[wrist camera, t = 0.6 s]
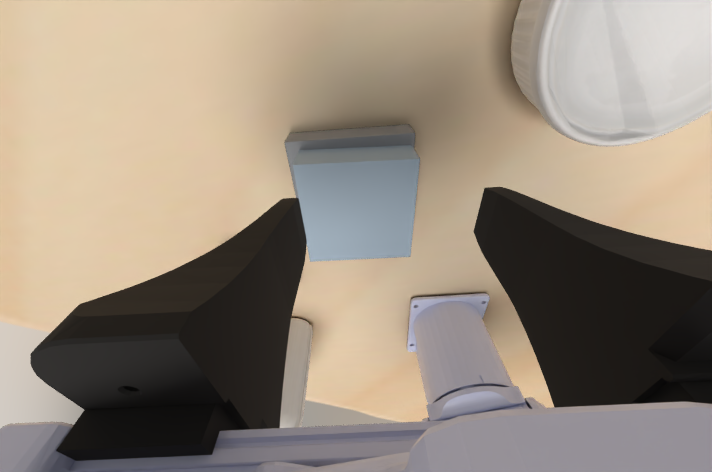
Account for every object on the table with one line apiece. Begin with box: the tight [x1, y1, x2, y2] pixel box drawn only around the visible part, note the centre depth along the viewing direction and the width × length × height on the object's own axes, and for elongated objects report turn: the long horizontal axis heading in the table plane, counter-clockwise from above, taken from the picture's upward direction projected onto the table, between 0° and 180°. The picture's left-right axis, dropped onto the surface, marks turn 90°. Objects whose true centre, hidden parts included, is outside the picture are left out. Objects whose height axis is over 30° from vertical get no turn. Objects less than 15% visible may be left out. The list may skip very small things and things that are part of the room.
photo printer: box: [280, 318, 313, 428], centre depth 28 cm, size 10×4×12 cm, turn 161°
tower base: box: [284, 124, 415, 244], centre depth 20 cm, size 8×8×2 cm
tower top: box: [293, 145, 420, 261], centre depth 18 cm, size 7×7×2 cm
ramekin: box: [511, 0, 712, 146], centre depth 13 cm, size 11×11×5 cm
